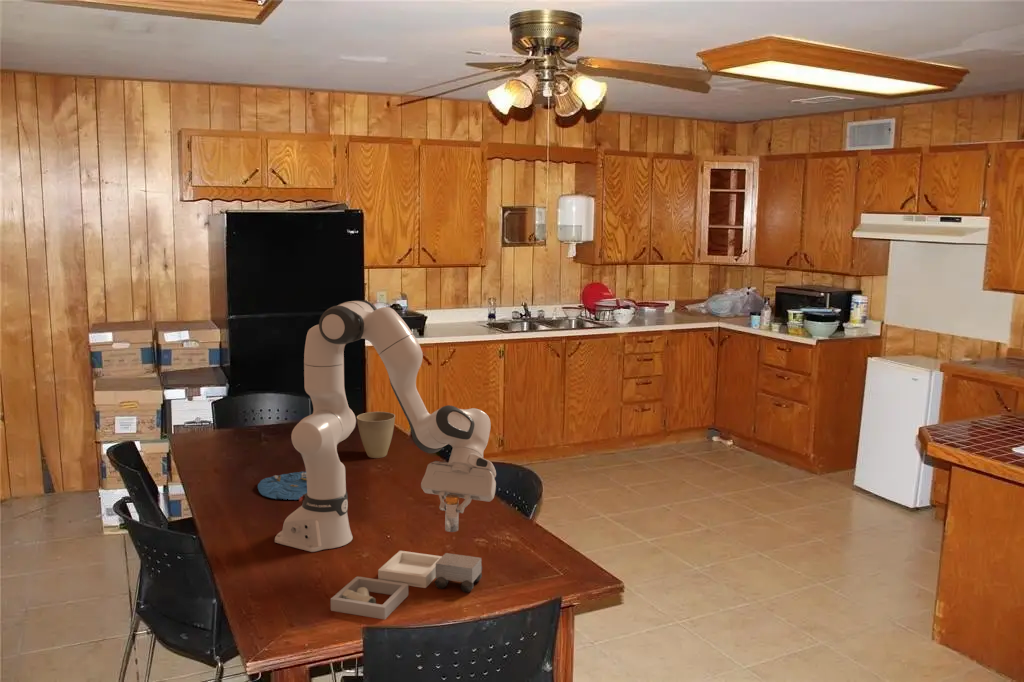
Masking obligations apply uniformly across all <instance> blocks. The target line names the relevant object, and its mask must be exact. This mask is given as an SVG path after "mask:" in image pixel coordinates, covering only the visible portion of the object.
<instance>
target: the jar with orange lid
mask: <svg viewBox="0 0 1024 682" xmlns="http://www.w3.org/2000/svg"><path fill="white" fill-rule="evenodd" d="M459 501H460V498H459V496H457V495H447V496H446V499H445V502H446V505H445V513H444V514H445V515H444V517H445V519H444V520H445V521H444V529H445V532H449V533H455V532H459V520H460V519H459V517H460V516H459V515H460V513H459V512H457V507H458V504H460V503H459Z"/></svg>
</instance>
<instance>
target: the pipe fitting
mask: <svg viewBox="0 0 1024 682" xmlns="http://www.w3.org/2000/svg"><path fill="white" fill-rule="evenodd" d="M342 598H344V599H350V600H356V601H362V602H369V603H375V604H377V600H376V598H375V597H373V596H371V595H370V592H369V591H368V589H367V588H365V587H360V588H358V589H357V591H356V592H354V591H352V590H349V589H346V590H345V591H344V593H343V594H342Z"/></svg>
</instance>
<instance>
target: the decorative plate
mask: <svg viewBox="0 0 1024 682" xmlns="http://www.w3.org/2000/svg"><path fill="white" fill-rule="evenodd" d="M257 489H258V493H259V494H260V495H262V496H263V497H266V498H270V499H272V500H274V499H275V500H282V499H283V501H288V500H291V501H292V500H294V501H297V500H298V501H299V500H300V499H299V498H300V497H302V496H303V495H304V494H306V493H307V478H306V471H299V472H298V471H297V472H296V471H294V472H289V473H282V474H280V475H276V474H275V475H274V474H273V476H270V477H265V478H263V479H260V481H259V483H258V484H257ZM287 499H288V500H287Z"/></svg>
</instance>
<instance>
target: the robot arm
mask: <svg viewBox="0 0 1024 682" xmlns="http://www.w3.org/2000/svg"><path fill="white" fill-rule="evenodd" d="M361 339H362V340H363V339H364V340H366V341H368V342H369V343H371V345H372V346H373V348H374V349H375V351H376V353H377V355H378V356H379V357H380V359H381V362H383V364H384V367H385V369H386V371H387V375H388V378H389V383H390V386H391V388H392V391H393V393H394V396H395V397H396V400H397V401H398V404H399V406H400V407H401V410H402V412H403V414H404V416H405V418H406V420H407V423H408V425H409V428H410V431H411V432H410V433H411V436H412V440H413V442H414V444H415V446H416V447H417V448H418V449H419V450H421V451H423V452H424V453H427V454H435V453H438V452H439V451H441V450H442V449H444V448H445V447H446V446H448V445H450V446H451V447H452V449H451V453H450V456H449V458H448V459H449V460H448V462H447V461H438V460H434V461H431V462H429V463H428V464H427V467H426V470H425V473H424V475H423V477H422V479H421V483H420V488H421V489H422V490H423V492H424V493H425V494H429V495H437V496H438V497H439V500H440V504H439V510H440V511H445V505H446V501H444V500H446V496H447V495H457V496H459V499H461V498H462V499H464V500H463V501H462V503H461V504H460V503H459V504H458V507H457V512H459V514H464V512H465V510H466V509H465V508H467V507H468V505H470V504H471V502H472V500H474V501H483V502H491V501H493V499H494V498H495V494H496V489H497V487H496V486H497V482H496V477H497V471H496V468H495V466H494V464H493V463H492V461H490V460H489V459H486V458H484V451H485V449H486V448H487V445H488V444H489V443H488V442H489V438H490V433H491V424H492V423H491V419H490V417H489V415H488V414H487V413H486V412H484V411H483V410H481V409H478V408H476V407H475V408H474V407H472V408H467V409H466V408H464V409H463V408H458V407H457V406H454V405H443V406H442V407H440V408H438V409H436V410H435V411H433V412H432V413H429V411H428V409H427V408H426V405H425V403H424V401H423V399H422V397H421V395H420V393H419V391H418V389H417V376H418V373H419V370H420V368H421V366H422V363H423V359H424V358H423V357H424V353H423V350H422V348H421V345H420V343H419V341H418V339H417V337H416V336H415V335H414V333H413V332H412V330H411V328H410V327H409V326H408V324H407V323H406V322H405V321H404V319H403V318H402V317H401V315H400V314H398V312H396V310H395V309H394V308H392V307H388V306H385V307H379V308H377V307H376V306H375V305H374V304H373V303H372V302H370V301H367V300H363V299H356V300H351V301H344V302H342V303H339V304H338V305H333V306H331V307H329V308H327V309H326V310H325V311H324V312H323V313H322V315H320V318H319V321H318V324H316V325H314V326H312V327H311V328H309V329H308V330H307V334H306V336H305V344H304V353H303V357H304V358H303V370H304V371H303V377H304V380H303V381H304V391H305V393H306V394H307V395H308V396H309V397H310V400H311V403H312V408H313V411H312V414H309V415H307V416H305V417H303V418H302V419H301V420H300V421H299V422H297V424H296V425H295V426H294V427H293V429H292V431H291V434H290V436H291V443H292V445H293V447H294V448H295V450H296V451H297V452H298V453H300V455H301V457H302V460H303V463H304V464H303V465H304V467H305V468H304V469H305V472H306V478H307V493H306V494H304V495H303V496H302V497H300V498H299V499H300V500H298V502H299V503H300V502H302V505H300V506H299V507H298V508H296V510H294V511H293V512H291V513H290V514H289V515H288V516H287V517H286V518H285V519H284V522H283V526H282V530H281V531H279V532H278V533H277V534H276V536H275V537H274V543H277V544H280V545H283V546H287V547H291V548H295V549H299V550H304V551H306V552H311V553H315V552H319V551H322V550H328V549H329V550H330V549H331V550H332V549H336V548H340V547H342V546H346V545H347V544H349V543H351V542H352V540H353V534H352V531H351V527H350V522H349V516H348V507H349V504H348V503H349V501H348V500H349V499H348V491H347V483H346V479H347V478H346V466H345V465H344V463H343V462H341V460H340V457H339V454H338V449H337V448H338V445H339V443H341V442H342V441H344V440H346V439H347V438H349V436H350V435H351V433H352V432H353V431H354V430H355V428H356V424H357V417H356V415H355V413H354V412H353V410H352V409H351V408H350V407H349V404H348V403H349V402H348V400H347V395H346V389H345V357H344V356H345V355H344V354H345V353H344V351H345V347H346V345H347V344H349V343H350V344H351V343H354V342H357V341H361Z"/></svg>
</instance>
